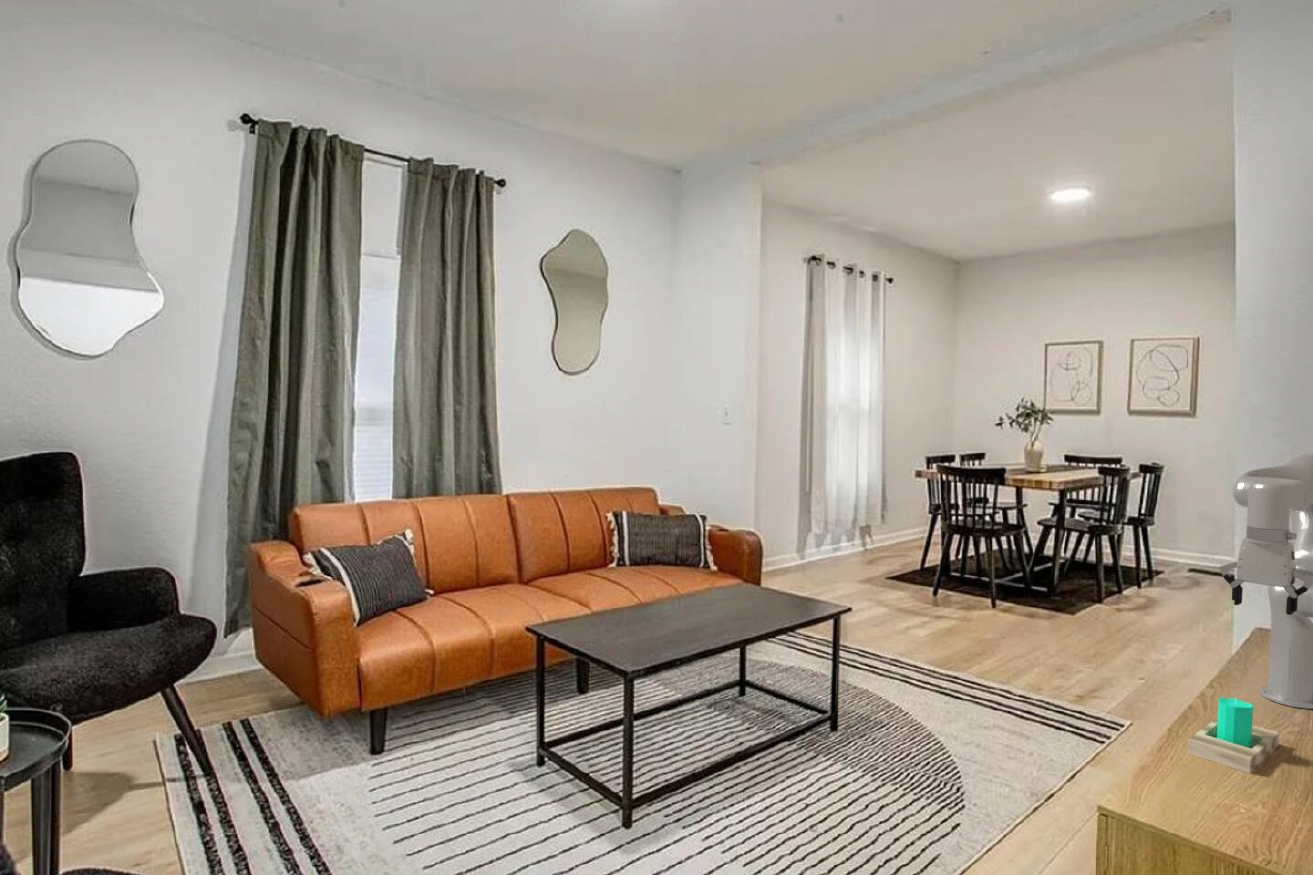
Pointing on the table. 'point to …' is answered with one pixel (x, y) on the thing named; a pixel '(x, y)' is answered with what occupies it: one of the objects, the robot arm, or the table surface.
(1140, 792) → the table surface
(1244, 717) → the candle
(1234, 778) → the table surface
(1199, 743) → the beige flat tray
